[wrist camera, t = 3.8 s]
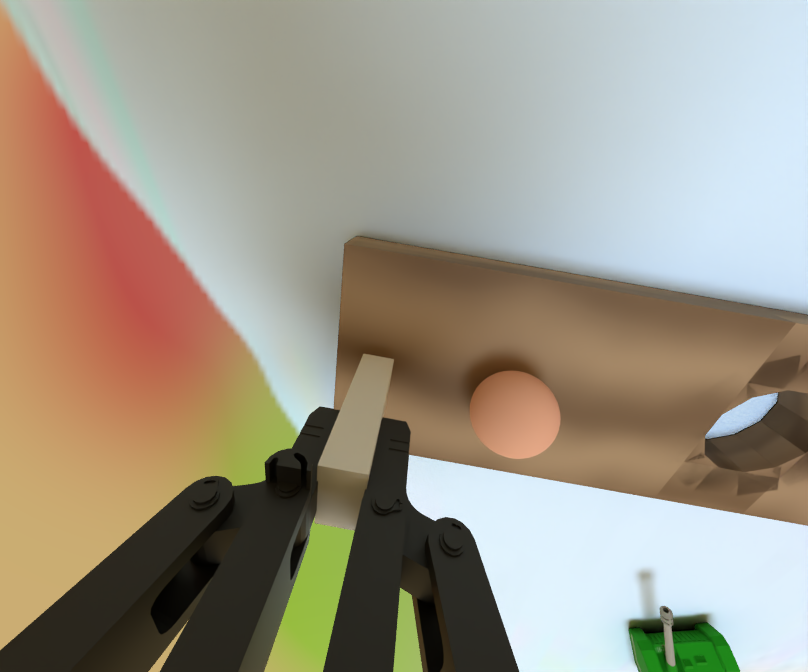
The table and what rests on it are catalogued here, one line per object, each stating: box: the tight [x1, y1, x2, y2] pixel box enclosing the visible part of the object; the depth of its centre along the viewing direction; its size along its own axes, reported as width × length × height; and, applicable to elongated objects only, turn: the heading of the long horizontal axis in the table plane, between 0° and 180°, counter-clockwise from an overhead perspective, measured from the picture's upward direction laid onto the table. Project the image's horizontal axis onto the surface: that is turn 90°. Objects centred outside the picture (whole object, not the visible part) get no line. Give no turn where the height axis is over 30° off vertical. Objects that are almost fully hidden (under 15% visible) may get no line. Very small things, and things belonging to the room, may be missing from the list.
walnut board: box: [334, 236, 808, 526], centre depth 17 cm, size 12×30×2 cm, turn 81°
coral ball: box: [469, 371, 561, 459], centre depth 14 cm, size 4×4×4 cm
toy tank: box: [629, 606, 740, 672], centre depth 27 cm, size 7×19×5 cm, turn 22°
